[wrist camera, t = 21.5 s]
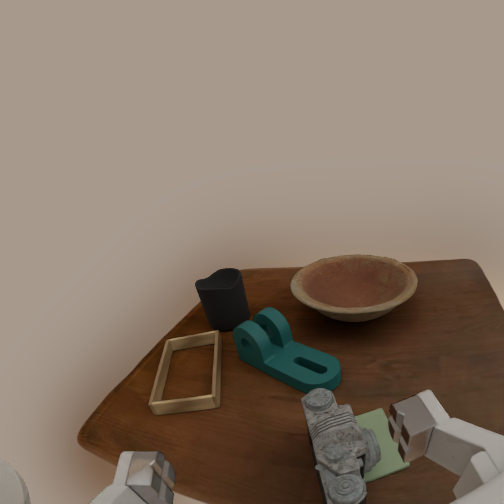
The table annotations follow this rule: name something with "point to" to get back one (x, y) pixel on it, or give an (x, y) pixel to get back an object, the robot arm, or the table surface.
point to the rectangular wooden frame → (157, 391)
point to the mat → (381, 445)
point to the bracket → (284, 353)
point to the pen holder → (224, 299)
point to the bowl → (354, 286)
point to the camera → (339, 448)
